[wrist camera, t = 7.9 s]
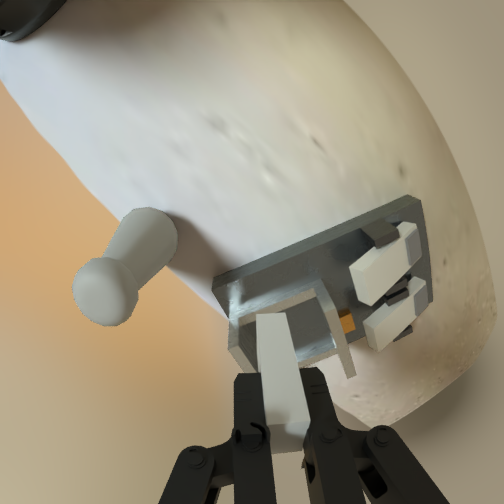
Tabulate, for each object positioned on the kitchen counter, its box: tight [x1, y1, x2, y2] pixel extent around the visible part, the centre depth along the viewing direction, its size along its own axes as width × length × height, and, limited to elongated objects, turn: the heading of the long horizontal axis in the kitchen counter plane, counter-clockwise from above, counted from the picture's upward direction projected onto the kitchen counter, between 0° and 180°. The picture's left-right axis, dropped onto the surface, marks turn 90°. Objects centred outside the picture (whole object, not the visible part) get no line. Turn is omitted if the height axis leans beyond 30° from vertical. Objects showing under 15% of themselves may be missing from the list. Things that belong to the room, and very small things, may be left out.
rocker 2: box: [363, 276, 428, 353], centre depth 25 cm, size 4×8×2 cm, turn 114°
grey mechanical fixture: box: [212, 195, 433, 379], centre depth 26 cm, size 13×22×8 cm, turn 114°
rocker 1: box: [349, 222, 422, 306], centre depth 23 cm, size 4×8×2 cm, turn 114°
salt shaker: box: [72, 207, 178, 326], centre depth 20 cm, size 6×6×13 cm
